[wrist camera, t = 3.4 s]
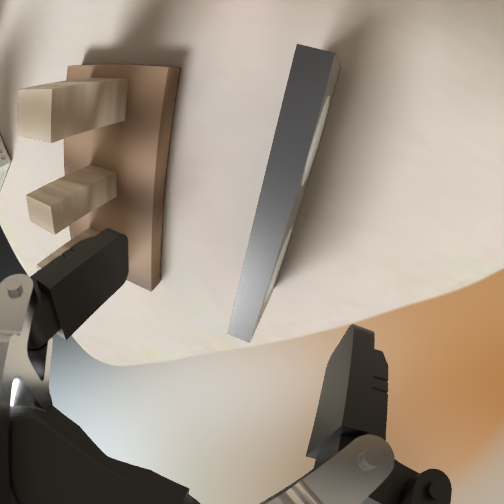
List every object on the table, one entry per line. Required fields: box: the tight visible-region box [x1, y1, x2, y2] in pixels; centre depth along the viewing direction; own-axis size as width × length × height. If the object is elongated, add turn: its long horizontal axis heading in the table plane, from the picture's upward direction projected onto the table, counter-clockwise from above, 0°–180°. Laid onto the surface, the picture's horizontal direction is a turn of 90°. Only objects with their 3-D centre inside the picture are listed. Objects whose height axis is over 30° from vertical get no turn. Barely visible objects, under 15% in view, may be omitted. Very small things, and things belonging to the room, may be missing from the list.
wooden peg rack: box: [17, 64, 181, 291], centre depth 19 cm, size 18×10×8 cm, turn 168°
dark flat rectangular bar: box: [227, 44, 340, 342], centre depth 16 cm, size 16×2×6 cm, turn 168°
